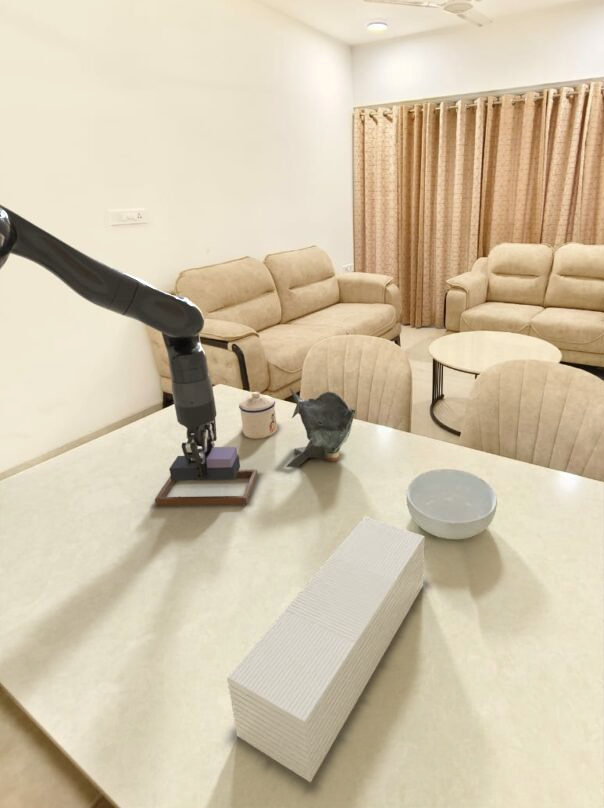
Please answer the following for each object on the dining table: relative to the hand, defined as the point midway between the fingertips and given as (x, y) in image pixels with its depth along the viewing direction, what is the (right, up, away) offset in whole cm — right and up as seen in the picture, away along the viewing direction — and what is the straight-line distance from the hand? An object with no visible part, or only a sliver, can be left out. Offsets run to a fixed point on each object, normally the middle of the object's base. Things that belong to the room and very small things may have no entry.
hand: (206, 470), depth 105 cm
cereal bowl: (+50, -9, -8) cm, 52 cm away
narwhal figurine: (+23, -1, +13) cm, 27 cm away
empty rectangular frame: (0, -5, +2) cm, 6 cm away
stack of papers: (+31, -19, -34) cm, 50 cm away
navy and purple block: (0, -1, 0) cm, 1 cm away
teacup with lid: (+5, +5, +28) cm, 29 cm away
